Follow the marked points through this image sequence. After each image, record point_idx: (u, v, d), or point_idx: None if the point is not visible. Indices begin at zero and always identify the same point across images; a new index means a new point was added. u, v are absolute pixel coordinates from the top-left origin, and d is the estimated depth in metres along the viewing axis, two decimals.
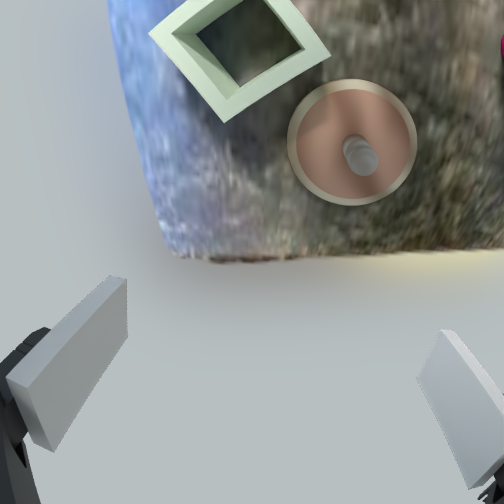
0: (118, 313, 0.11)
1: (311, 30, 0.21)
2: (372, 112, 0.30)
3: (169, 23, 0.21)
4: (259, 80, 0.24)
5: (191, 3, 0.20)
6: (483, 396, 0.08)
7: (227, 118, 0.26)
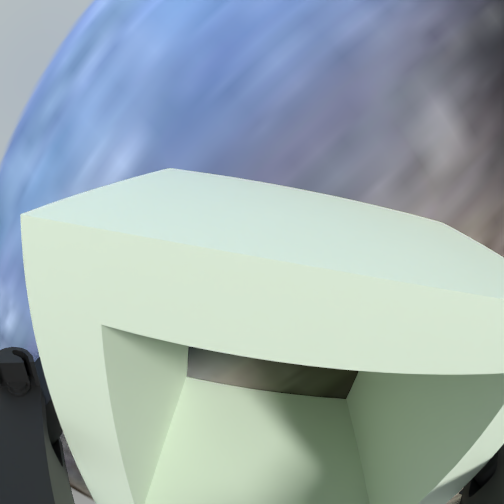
0: None
1: None
2: None
3: (129, 281, 0.04)
4: None
5: (323, 303, 0.04)
6: None
7: None
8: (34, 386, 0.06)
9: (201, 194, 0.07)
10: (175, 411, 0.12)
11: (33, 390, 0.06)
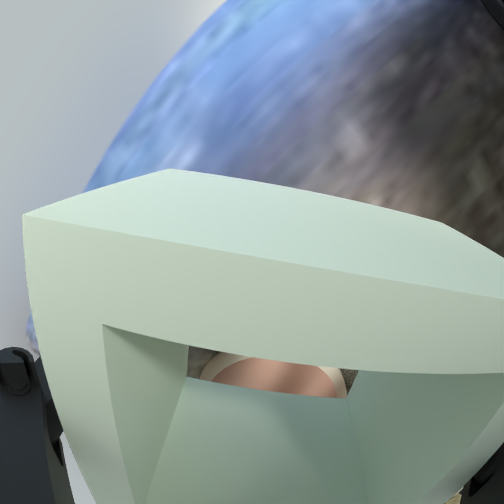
0: None
1: None
2: (313, 393, 0.28)
3: (130, 281, 0.04)
4: None
5: (322, 303, 0.04)
6: None
7: None
8: (34, 386, 0.06)
9: (201, 194, 0.07)
10: (175, 411, 0.12)
11: (33, 390, 0.06)
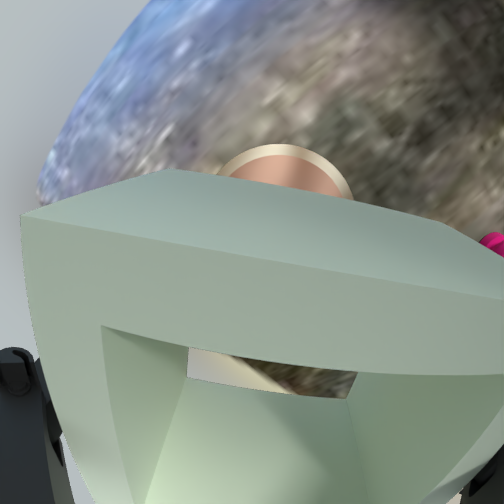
0: None
1: None
2: None
3: (129, 282, 0.04)
4: None
5: (322, 304, 0.04)
6: None
7: None
8: (34, 386, 0.06)
9: (201, 194, 0.07)
10: (175, 411, 0.12)
11: (33, 390, 0.06)
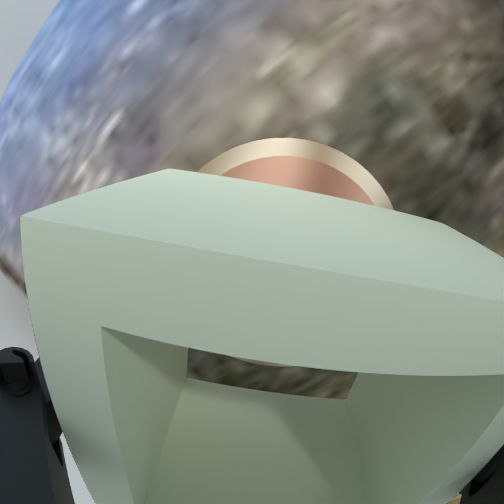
0: None
1: None
2: None
3: (129, 282, 0.04)
4: None
5: (323, 305, 0.04)
6: None
7: None
8: (34, 386, 0.06)
9: (201, 195, 0.07)
10: (175, 411, 0.12)
11: (33, 390, 0.06)
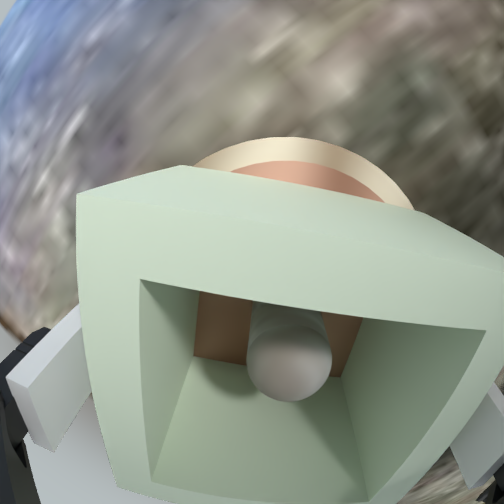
0: None
1: (413, 484, 0.08)
2: None
3: (166, 242, 0.06)
4: (243, 501, 0.09)
5: (307, 257, 0.06)
6: None
7: (129, 489, 0.09)
8: None
9: (213, 184, 0.09)
10: (183, 385, 0.14)
11: None
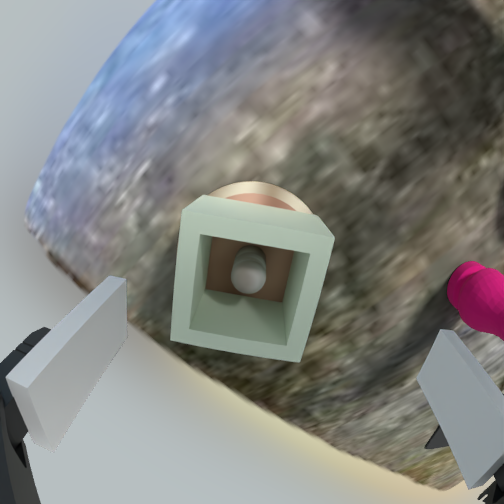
0: (118, 313, 0.11)
1: (306, 336, 0.25)
2: None
3: (208, 223, 0.23)
4: (228, 338, 0.25)
5: (244, 227, 0.23)
6: (483, 396, 0.08)
7: (176, 340, 0.26)
8: None
9: (219, 206, 0.26)
10: (201, 299, 0.31)
11: None
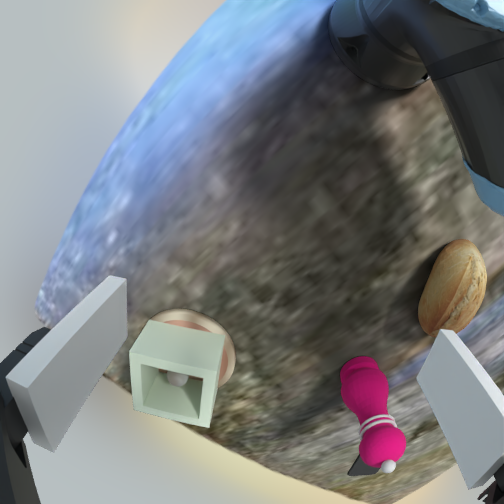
0: (118, 313, 0.11)
1: (209, 415, 0.39)
2: None
3: (144, 359, 0.36)
4: (165, 412, 0.39)
5: (164, 363, 0.36)
6: (483, 396, 0.08)
7: (137, 410, 0.39)
8: None
9: (154, 340, 0.39)
10: (154, 381, 0.44)
11: None
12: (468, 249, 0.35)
